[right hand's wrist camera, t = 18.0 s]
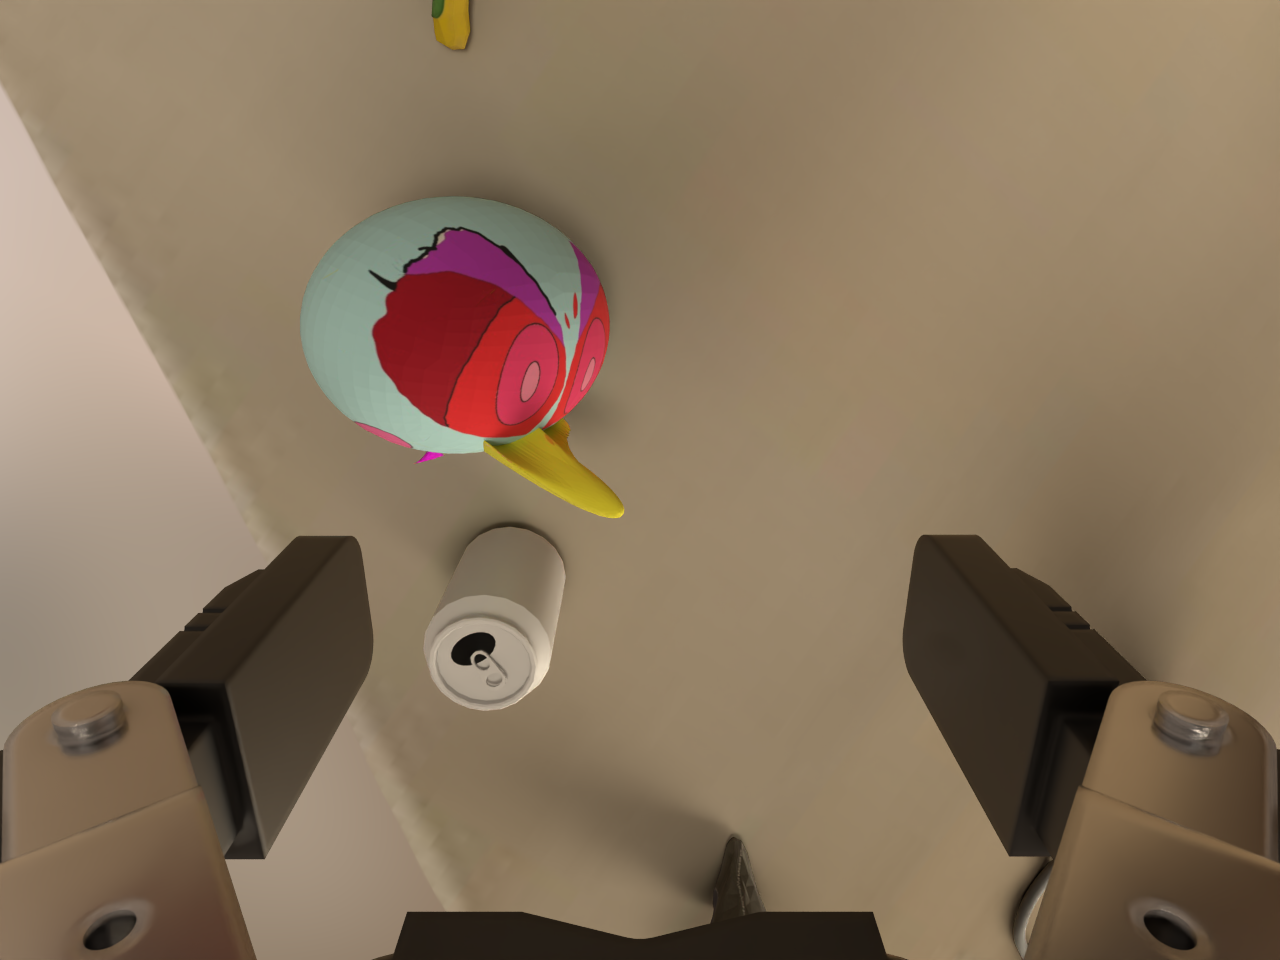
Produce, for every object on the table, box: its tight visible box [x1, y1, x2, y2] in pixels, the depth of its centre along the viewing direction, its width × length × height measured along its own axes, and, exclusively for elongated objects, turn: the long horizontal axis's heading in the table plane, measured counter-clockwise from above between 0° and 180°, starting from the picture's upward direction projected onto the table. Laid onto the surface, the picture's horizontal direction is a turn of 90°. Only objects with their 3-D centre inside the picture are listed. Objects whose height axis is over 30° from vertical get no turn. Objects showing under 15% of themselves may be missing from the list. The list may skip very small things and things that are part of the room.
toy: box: [300, 196, 624, 518], centre depth 40 cm, size 18×18×15 cm
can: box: [423, 527, 566, 711], centre depth 49 cm, size 8×8×12 cm
